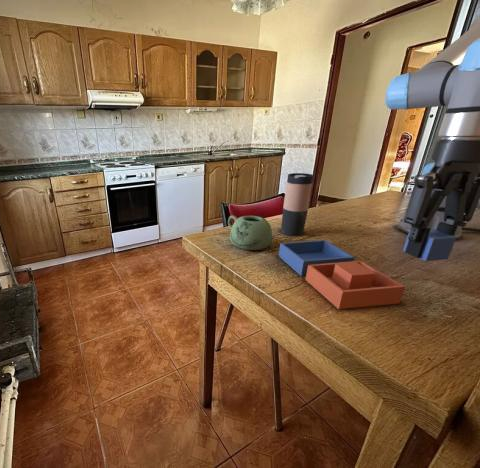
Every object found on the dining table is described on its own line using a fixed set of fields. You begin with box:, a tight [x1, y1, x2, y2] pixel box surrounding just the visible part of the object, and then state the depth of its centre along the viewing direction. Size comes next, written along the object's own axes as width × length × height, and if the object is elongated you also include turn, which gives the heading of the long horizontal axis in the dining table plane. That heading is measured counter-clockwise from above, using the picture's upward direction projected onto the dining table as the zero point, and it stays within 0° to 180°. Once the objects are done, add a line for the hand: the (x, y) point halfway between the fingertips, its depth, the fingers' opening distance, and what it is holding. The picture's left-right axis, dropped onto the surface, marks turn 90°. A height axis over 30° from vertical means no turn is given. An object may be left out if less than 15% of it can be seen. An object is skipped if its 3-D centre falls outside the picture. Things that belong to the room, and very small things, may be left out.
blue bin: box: [278, 239, 355, 277], centre depth 68 cm, size 13×11×4 cm
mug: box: [227, 215, 273, 251], centre depth 82 cm, size 16×13×9 cm
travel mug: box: [280, 172, 314, 237], centre depth 87 cm, size 8×8×20 cm
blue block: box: [402, 228, 457, 262], centre depth 54 cm, size 5×5×5 cm
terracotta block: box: [332, 263, 375, 290], centre depth 56 cm, size 5×5×5 cm
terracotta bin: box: [305, 260, 406, 310], centre depth 56 cm, size 13×11×4 cm
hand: (424, 253), depth 55 cm, fingers closed on blue block, 5 cm apart
